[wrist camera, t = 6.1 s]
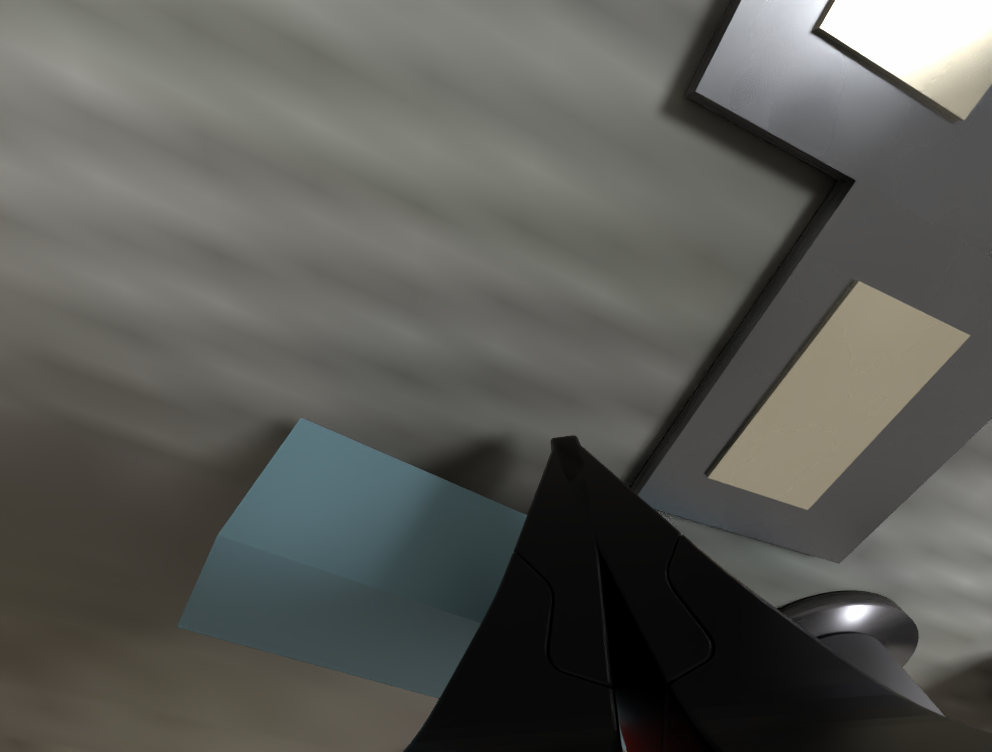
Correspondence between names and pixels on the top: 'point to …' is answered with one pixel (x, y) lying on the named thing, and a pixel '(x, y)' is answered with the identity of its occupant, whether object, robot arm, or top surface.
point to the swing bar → (380, 569)
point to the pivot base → (858, 619)
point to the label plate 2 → (836, 383)
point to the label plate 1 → (867, 96)
